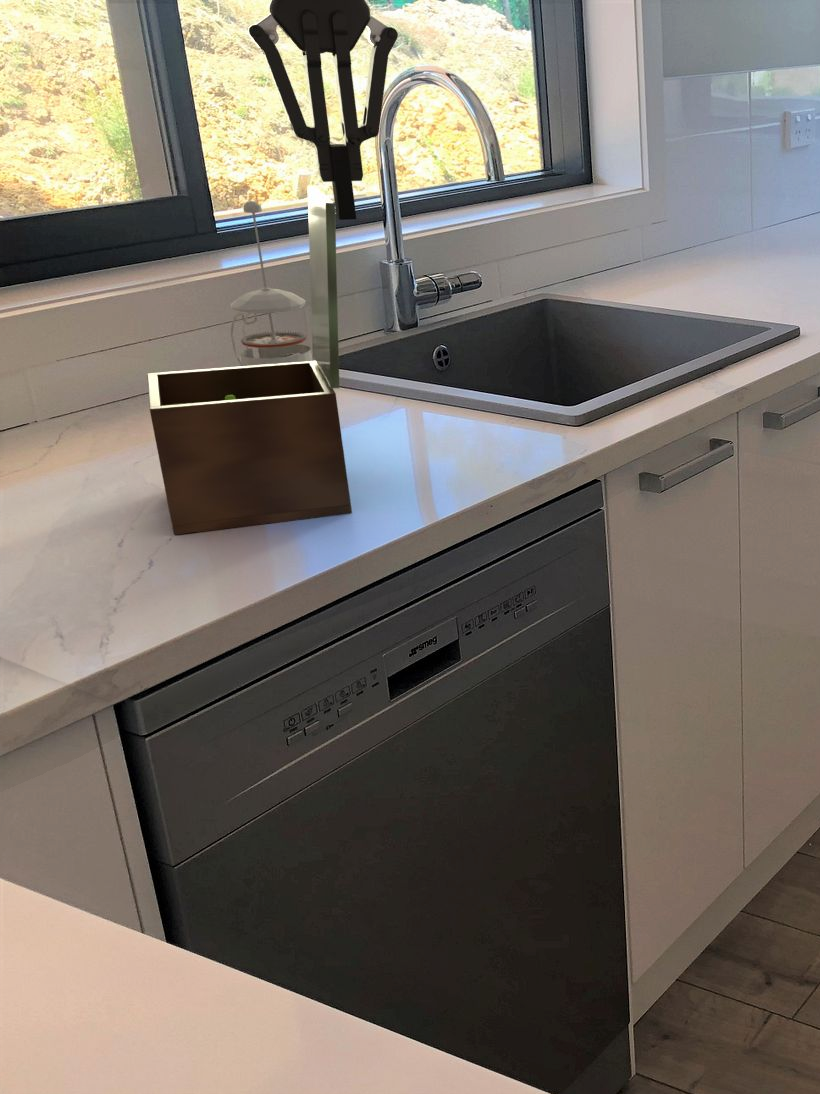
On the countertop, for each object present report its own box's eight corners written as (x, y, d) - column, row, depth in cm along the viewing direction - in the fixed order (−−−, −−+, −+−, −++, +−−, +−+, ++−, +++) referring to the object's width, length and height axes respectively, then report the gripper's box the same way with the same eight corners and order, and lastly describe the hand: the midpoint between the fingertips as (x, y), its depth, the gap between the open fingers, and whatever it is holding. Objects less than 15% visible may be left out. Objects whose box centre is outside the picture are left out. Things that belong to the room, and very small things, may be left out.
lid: (325, 202, 124) (335, 203, 124) (307, 185, 136) (316, 186, 136) (330, 388, 130) (339, 388, 130) (312, 355, 142) (321, 356, 142)
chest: (173, 535, 129) (149, 409, 124) (169, 489, 141) (147, 373, 136) (352, 513, 135) (335, 393, 130) (333, 472, 147) (317, 360, 142)
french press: (279, 434, 160) (241, 208, 149) (215, 420, 165) (174, 201, 155) (348, 416, 167) (316, 199, 157) (284, 402, 173) (250, 192, 163)
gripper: (234, -66, 117) (276, 225, 126) (395, -59, 122) (423, 220, 131) (229, -62, 123) (269, 215, 132) (382, -56, 128) (410, 210, 137)
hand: (346, 217), depth 132 cm, fingers closed
